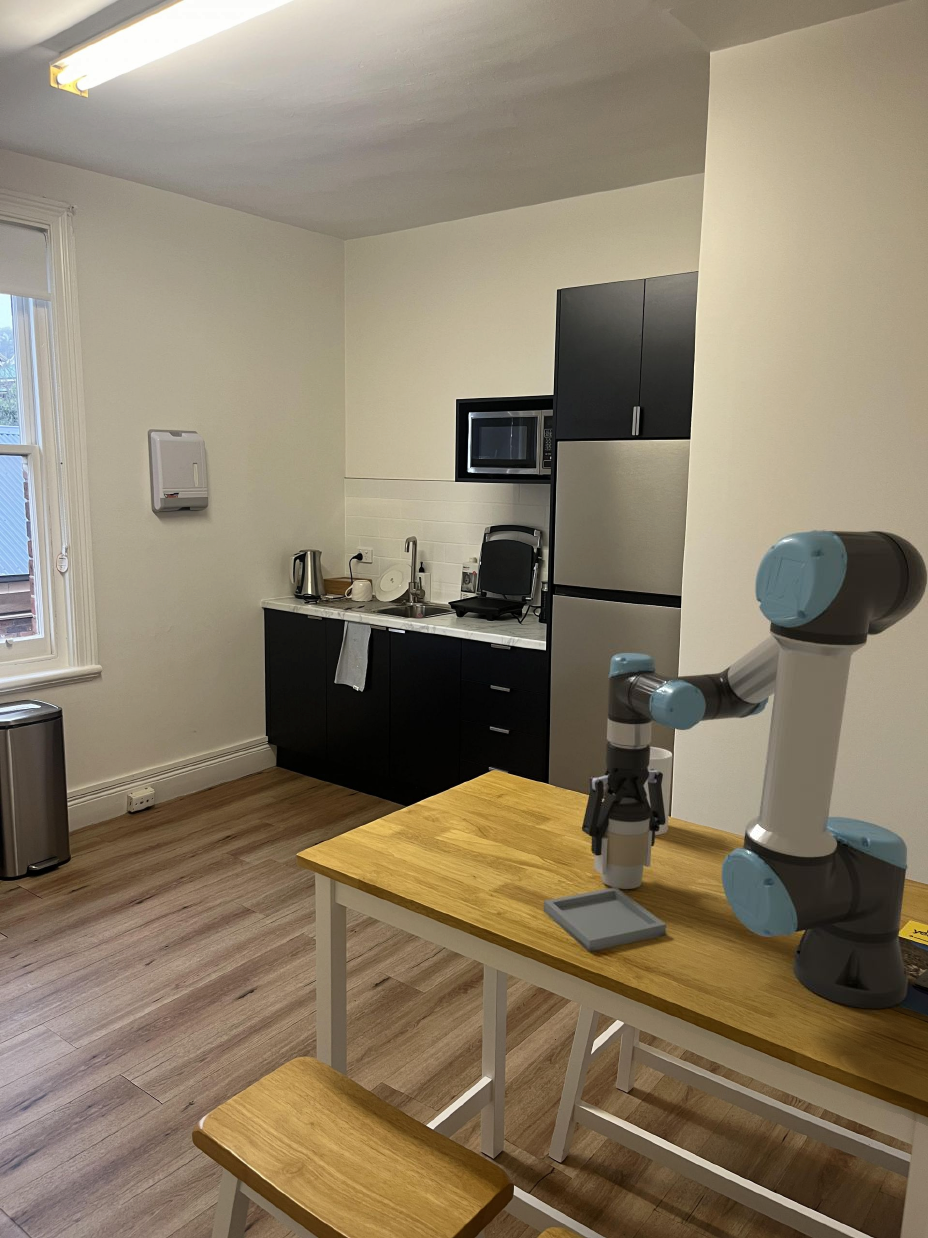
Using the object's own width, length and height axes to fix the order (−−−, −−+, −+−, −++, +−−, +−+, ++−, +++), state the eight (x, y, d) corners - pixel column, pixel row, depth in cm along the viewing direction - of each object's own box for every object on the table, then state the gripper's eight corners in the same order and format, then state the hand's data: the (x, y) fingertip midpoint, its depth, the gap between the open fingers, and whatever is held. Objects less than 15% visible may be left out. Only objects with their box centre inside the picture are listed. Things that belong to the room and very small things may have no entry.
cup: (671, 836, 183) (676, 759, 181) (630, 834, 183) (634, 758, 181) (663, 820, 191) (667, 747, 189) (623, 819, 191) (628, 746, 189)
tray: (665, 935, 143) (666, 924, 143) (588, 952, 137) (589, 940, 137) (615, 897, 156) (615, 887, 155) (543, 911, 150) (544, 900, 150)
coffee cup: (647, 894, 155) (652, 810, 153) (594, 888, 157) (597, 805, 155) (647, 873, 164) (652, 792, 162) (597, 867, 166) (600, 788, 164)
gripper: (665, 732, 165) (659, 851, 168) (563, 743, 156) (558, 868, 159) (692, 742, 158) (684, 866, 161) (587, 755, 149) (581, 885, 153)
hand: (622, 867), depth 160 cm, fingers closed on coffee cup, 8 cm apart
